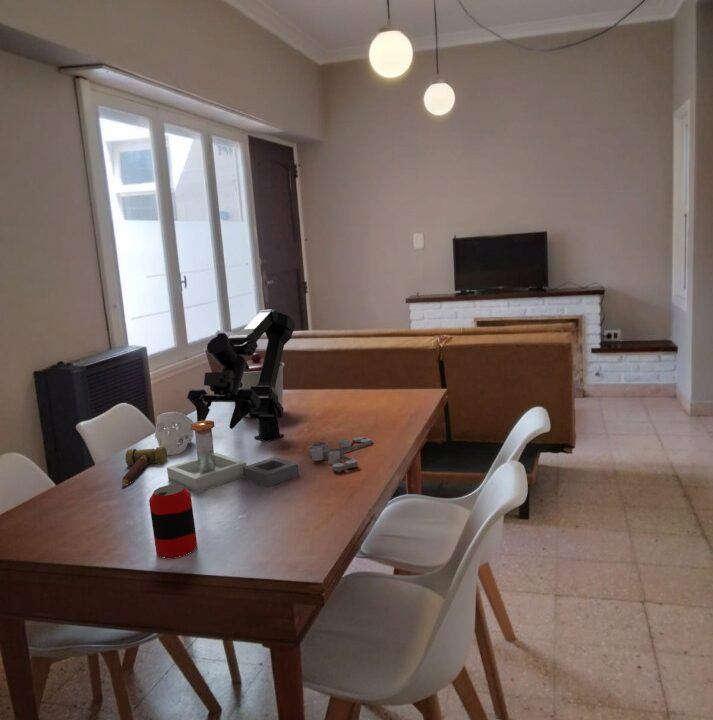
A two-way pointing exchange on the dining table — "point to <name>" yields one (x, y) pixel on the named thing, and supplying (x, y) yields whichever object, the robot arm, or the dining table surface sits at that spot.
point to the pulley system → (337, 452)
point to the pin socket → (271, 471)
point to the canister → (254, 373)
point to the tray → (191, 479)
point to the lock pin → (204, 445)
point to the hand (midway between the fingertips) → (214, 427)
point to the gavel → (142, 461)
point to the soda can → (173, 521)
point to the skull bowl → (173, 432)
